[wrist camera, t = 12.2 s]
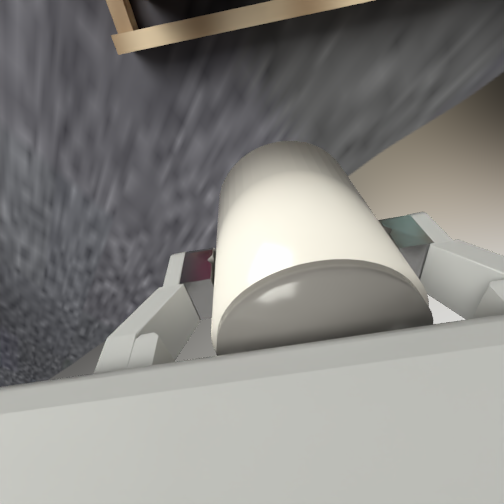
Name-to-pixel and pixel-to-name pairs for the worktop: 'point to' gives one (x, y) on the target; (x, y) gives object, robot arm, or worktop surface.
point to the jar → (304, 256)
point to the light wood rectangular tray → (209, 21)
